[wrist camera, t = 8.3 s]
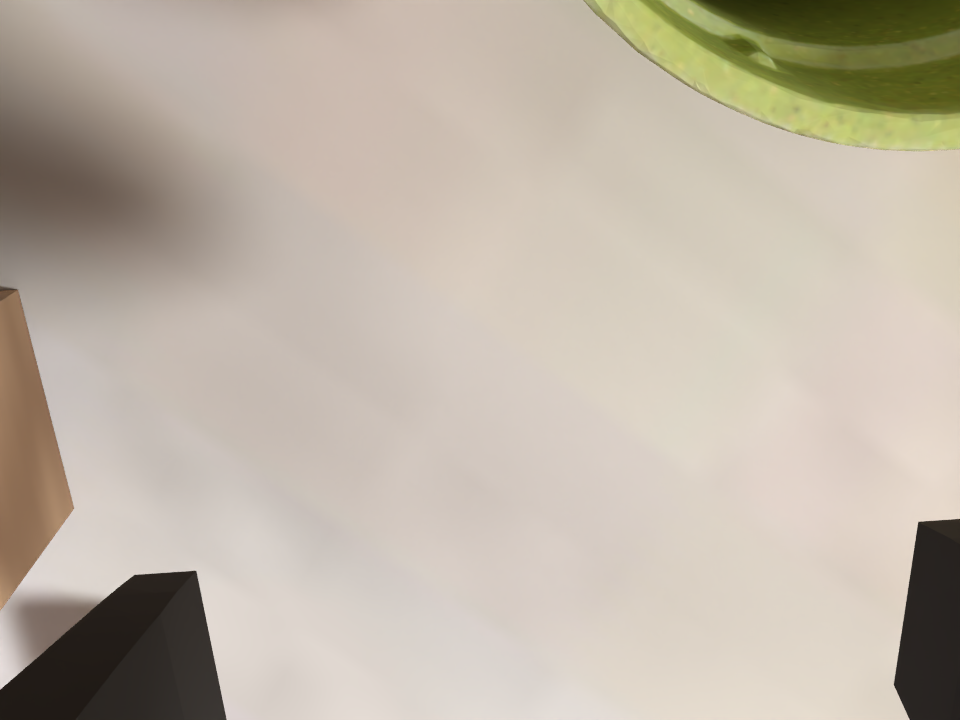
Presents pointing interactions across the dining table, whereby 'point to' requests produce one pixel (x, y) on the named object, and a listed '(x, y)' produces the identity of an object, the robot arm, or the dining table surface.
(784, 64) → the plant pot
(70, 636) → the robot arm
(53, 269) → the dining table surface
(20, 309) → the tethered block
